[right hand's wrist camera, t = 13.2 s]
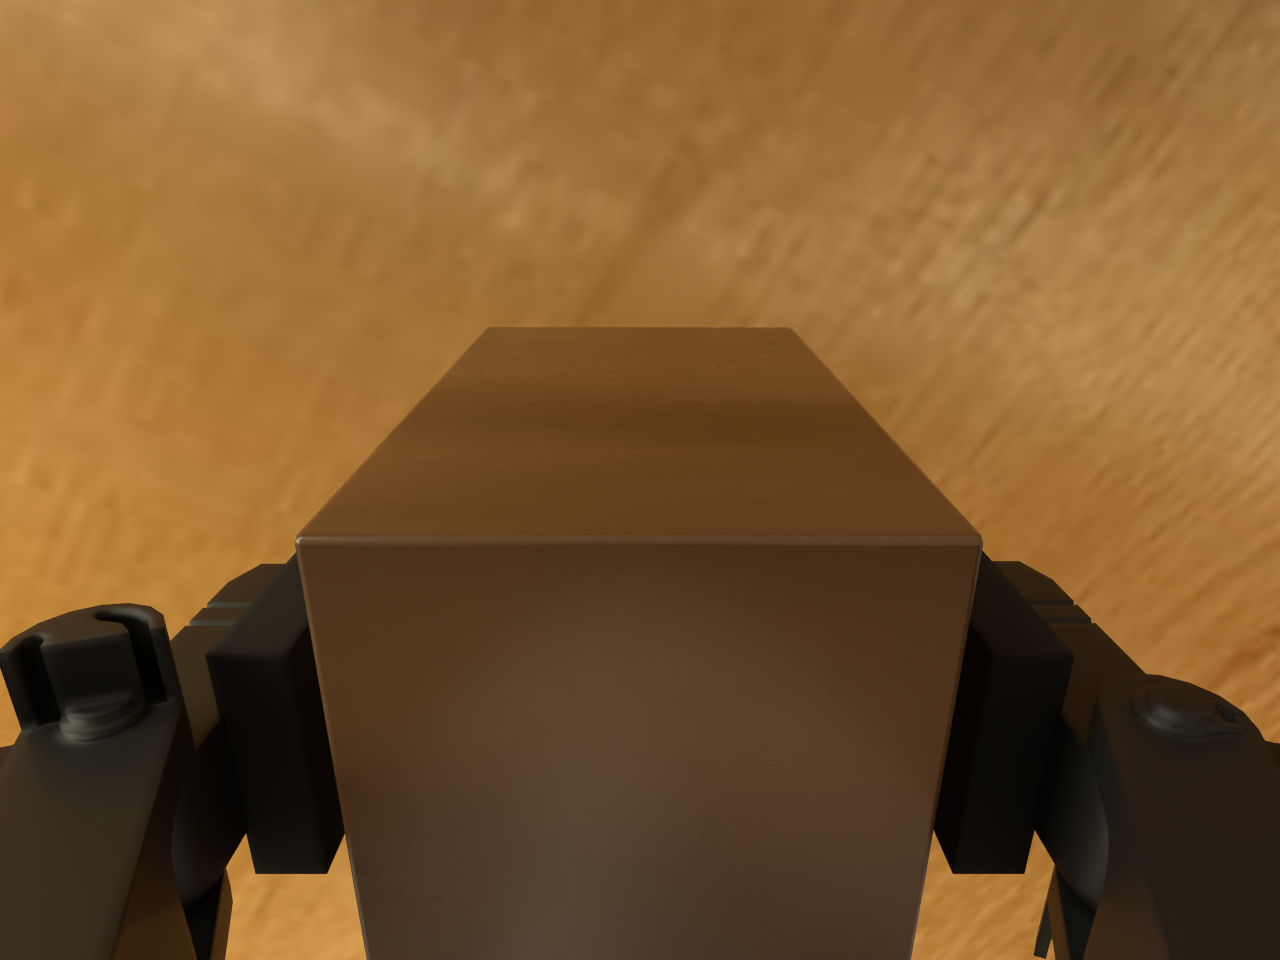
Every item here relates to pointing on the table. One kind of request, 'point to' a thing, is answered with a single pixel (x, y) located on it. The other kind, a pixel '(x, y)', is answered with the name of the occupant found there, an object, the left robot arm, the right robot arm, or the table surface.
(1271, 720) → the table surface
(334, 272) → the table surface
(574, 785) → the bar
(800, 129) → the table surface
